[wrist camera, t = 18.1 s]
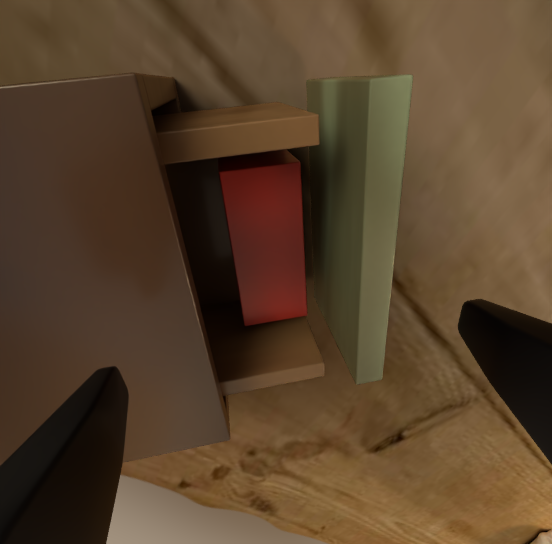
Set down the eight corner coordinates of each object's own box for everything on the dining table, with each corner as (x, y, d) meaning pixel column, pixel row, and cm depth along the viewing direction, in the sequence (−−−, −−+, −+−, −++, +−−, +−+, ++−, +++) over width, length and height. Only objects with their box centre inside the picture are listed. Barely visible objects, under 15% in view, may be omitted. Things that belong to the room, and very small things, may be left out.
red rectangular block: (216, 152, 14) (218, 172, 11) (281, 144, 14) (300, 161, 11) (238, 283, 18) (244, 326, 14) (291, 275, 18) (307, 315, 15)
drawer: (359, 74, 15) (457, 69, 9) (352, 291, 20) (409, 374, 15) (54, 106, 13) (-67, 125, 8) (138, 327, 19) (107, 435, 13)
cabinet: (174, 77, 14) (135, 72, 7) (223, 312, 21) (230, 440, 13) (-153, 110, 13) (-625, 147, 6) (6, 349, 19) (-119, 513, 12)
